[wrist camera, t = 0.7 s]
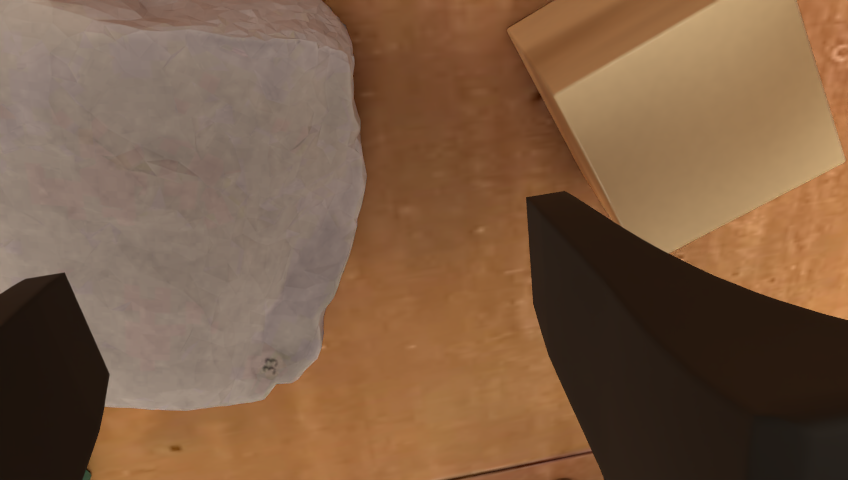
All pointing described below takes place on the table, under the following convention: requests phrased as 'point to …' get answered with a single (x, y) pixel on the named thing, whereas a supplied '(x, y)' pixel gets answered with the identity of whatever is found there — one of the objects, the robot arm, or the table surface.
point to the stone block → (182, 183)
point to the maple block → (682, 106)
